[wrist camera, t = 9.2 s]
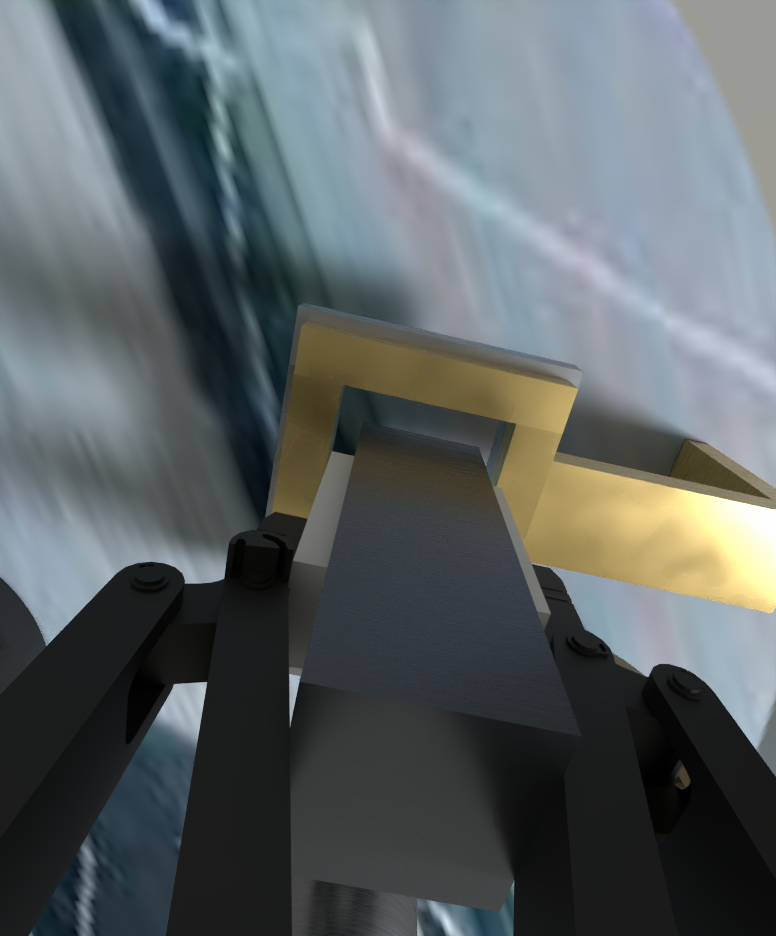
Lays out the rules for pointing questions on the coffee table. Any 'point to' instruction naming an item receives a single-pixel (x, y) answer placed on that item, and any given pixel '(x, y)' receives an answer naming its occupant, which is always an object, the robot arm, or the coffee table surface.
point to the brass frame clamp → (518, 501)
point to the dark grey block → (424, 687)
